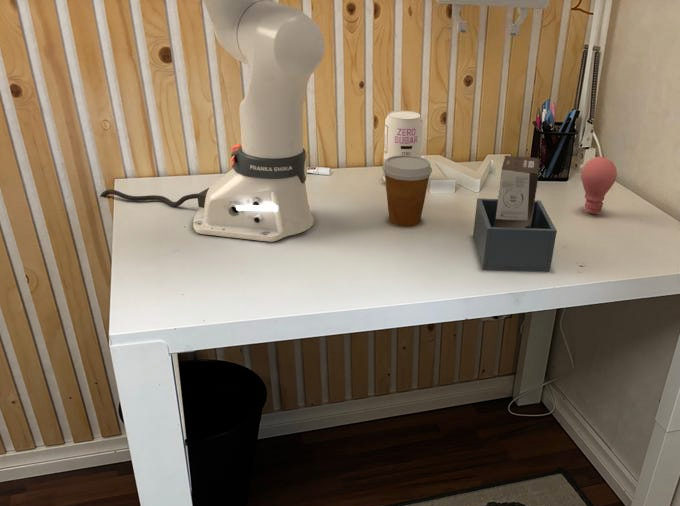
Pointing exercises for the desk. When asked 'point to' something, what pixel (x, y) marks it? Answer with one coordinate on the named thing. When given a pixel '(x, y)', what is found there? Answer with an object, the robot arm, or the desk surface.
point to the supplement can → (402, 134)
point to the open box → (513, 240)
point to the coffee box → (517, 192)
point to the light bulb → (597, 182)
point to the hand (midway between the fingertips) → (487, 34)
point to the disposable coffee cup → (406, 188)
